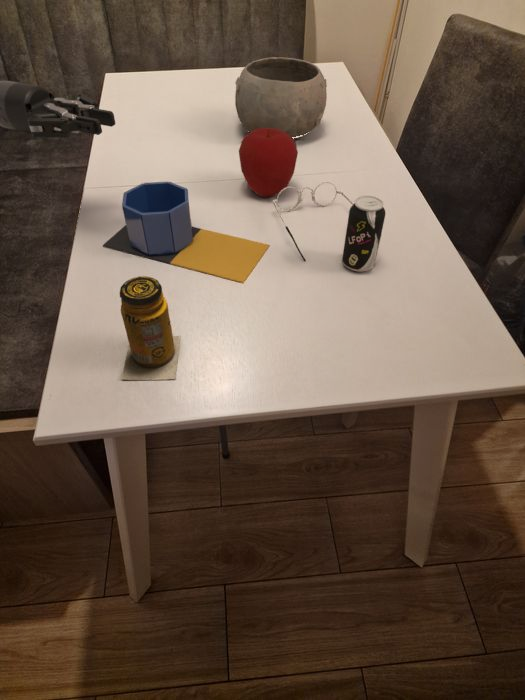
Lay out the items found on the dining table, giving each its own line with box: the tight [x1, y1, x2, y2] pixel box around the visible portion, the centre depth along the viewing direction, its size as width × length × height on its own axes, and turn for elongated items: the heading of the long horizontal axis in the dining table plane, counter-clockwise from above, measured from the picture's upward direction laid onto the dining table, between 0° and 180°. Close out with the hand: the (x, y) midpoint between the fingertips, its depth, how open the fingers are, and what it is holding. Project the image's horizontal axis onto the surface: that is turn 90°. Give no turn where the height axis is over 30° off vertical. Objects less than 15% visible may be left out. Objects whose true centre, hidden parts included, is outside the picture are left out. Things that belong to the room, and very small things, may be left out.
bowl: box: [234, 56, 328, 141], centre depth 120 cm, size 23×23×15 cm
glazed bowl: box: [121, 181, 193, 255], centre depth 87 cm, size 11×11×8 cm
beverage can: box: [341, 195, 386, 273], centre depth 81 cm, size 6×6×12 cm
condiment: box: [119, 275, 181, 381], centre depth 64 cm, size 7×8×12 cm
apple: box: [238, 128, 299, 198], centre depth 98 cm, size 12×12×13 cm
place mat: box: [102, 224, 271, 284], centre depth 88 cm, size 28×12×1 cm, turn 68°
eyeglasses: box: [272, 181, 355, 262], centre depth 91 cm, size 16×19×5 cm
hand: (106, 123), depth 77 cm, fingers open, 3 cm apart
